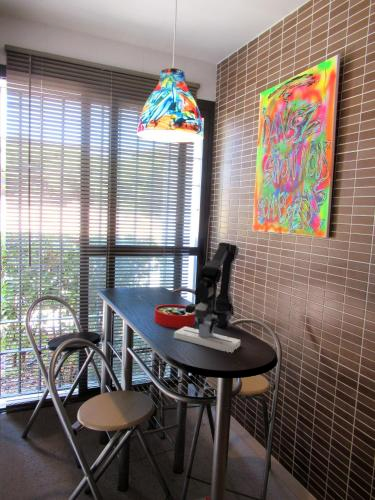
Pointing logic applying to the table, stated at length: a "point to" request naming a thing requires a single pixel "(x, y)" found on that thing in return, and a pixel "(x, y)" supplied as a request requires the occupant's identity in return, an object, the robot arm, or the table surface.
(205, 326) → the fader tab
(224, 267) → the robot arm
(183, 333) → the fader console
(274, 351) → the table surface
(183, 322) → the red round tin
